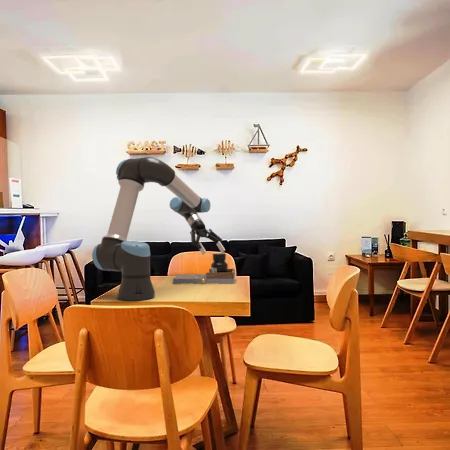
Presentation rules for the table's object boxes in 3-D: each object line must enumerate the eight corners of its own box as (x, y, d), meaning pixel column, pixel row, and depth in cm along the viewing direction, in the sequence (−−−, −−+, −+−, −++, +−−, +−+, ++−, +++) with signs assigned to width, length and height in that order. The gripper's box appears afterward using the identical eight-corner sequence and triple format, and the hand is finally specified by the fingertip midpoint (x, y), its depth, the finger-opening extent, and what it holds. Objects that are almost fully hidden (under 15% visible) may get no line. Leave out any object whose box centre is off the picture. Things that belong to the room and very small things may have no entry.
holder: (233, 278, 194) (233, 272, 194) (206, 278, 195) (206, 272, 195) (235, 274, 210) (234, 268, 210) (209, 274, 211) (209, 268, 211)
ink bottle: (211, 275, 207) (210, 253, 207) (227, 274, 208) (227, 252, 208) (211, 277, 198) (211, 254, 198) (228, 277, 198) (228, 254, 198)
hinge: (233, 283, 193) (233, 278, 193) (172, 284, 195) (172, 278, 195) (235, 278, 211) (235, 273, 211) (179, 278, 213) (179, 273, 213)
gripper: (210, 228, 227) (227, 255, 216) (175, 229, 210) (192, 258, 199) (216, 219, 223) (234, 246, 212) (181, 219, 206) (198, 248, 195)
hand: (214, 252), depth 205 cm, fingers open, 13 cm apart
